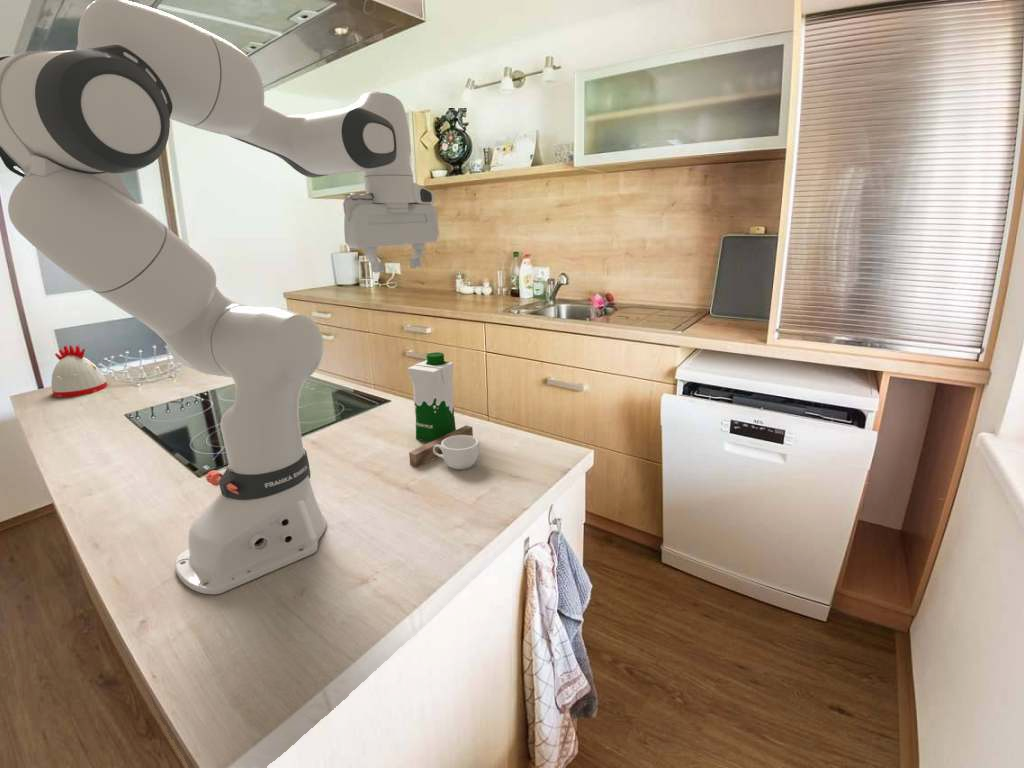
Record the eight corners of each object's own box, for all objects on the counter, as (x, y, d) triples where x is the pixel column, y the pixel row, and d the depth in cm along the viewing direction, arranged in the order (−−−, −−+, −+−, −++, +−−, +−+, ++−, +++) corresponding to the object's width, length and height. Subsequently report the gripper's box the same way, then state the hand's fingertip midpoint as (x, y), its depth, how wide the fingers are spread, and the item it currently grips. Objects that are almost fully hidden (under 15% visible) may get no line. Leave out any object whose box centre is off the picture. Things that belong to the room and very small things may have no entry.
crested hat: (94, 394, 163) (80, 348, 159) (43, 399, 160) (28, 352, 156) (115, 381, 176) (103, 339, 172) (69, 385, 173) (55, 342, 169)
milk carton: (461, 432, 127) (456, 353, 121) (440, 446, 119) (433, 363, 113) (432, 426, 131) (426, 350, 125) (409, 440, 123) (402, 359, 117)
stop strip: (416, 467, 110) (415, 454, 109) (410, 464, 111) (408, 452, 110) (473, 438, 123) (472, 427, 122) (466, 436, 124) (466, 425, 123)
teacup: (483, 458, 113) (482, 435, 112) (474, 474, 106) (473, 450, 104) (439, 455, 115) (437, 433, 113) (428, 471, 108) (426, 448, 106)
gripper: (353, 192, 86) (363, 276, 90) (441, 193, 101) (446, 265, 105) (331, 194, 90) (342, 274, 94) (419, 195, 105) (424, 264, 109)
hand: (397, 269), depth 100 cm, fingers open, 8 cm apart
